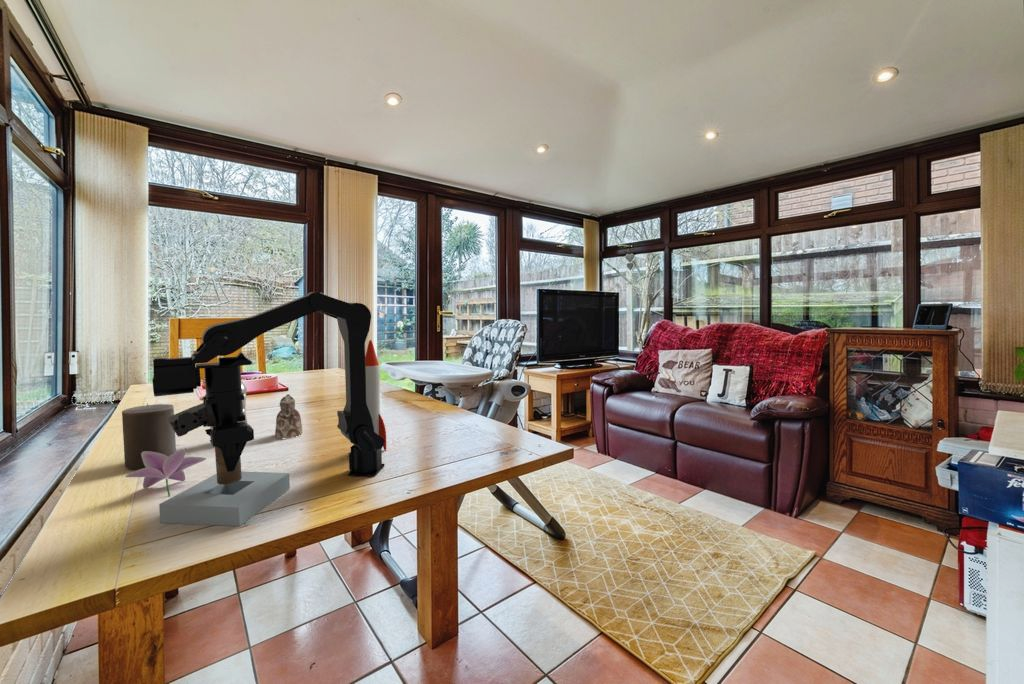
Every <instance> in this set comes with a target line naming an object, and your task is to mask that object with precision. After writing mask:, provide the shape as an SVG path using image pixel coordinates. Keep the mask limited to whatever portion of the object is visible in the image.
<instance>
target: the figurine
mask: <svg viewBox="0 0 1024 684" xmlns="http://www.w3.org/2000/svg"><path fill="white" fill-rule="evenodd" d="M295 407H296V400H295V398H294V397H292V395H290V394H286V395H285V396H283V397H282V398H281V399H280V401H279V408H280V410H279V412H278V413H277V415H276V418H275V431H274V434H275V438H277V437H278V438H277V439H280V438H290V439H292V438H291V437H294V438H297V437H296V436H298V437H300V436H302V435H303V424H302V418H301V414H300V412H299V410H297V409H296V408H295ZM301 434H302V435H301ZM299 435H300V436H299Z"/></svg>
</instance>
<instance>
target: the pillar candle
mask: <svg viewBox="0 0 1024 684" xmlns="http://www.w3.org/2000/svg"><path fill="white" fill-rule="evenodd" d="M172 415H175V407H174V405H173V404H169V403H168V404H167V403H166V404H164V403H163V404H162V403H161V404H148V402H146V405H138V406H133V407H130V408H126V409H123V410H121V418H122V419H121V422H122V434H123V435H122V436H123V439H122V440H123V451H124V452H123V454H124V455H123V457H124V467H125V468H126V469H127V468H128V469H127V470H132V469H134V471H136V470H140V469H143V468H146V467H145V465H144V463H143V460H142V456H141V453H142V452H144V451H151V452H157V453H161V454H164V455H166V456H168V457H169V456H170V455H172V454H174V453H175V452H177V445H176V441H177V440H176V433H175V431H174V430H173V428H172V426H171V425H170V423H169V420H168V418H169V417H171V416H172Z"/></svg>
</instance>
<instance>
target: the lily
mask: <svg viewBox="0 0 1024 684" xmlns="http://www.w3.org/2000/svg"><path fill="white" fill-rule="evenodd" d="M186 453H187V449H186V448H182V449H179V450H178V451H177V450H176V452H175V453H174V454H172V455H170V456H169V457H168V456H166V455H164V454H161V453H157V452H151V451H144V452H142V453H141V456H142V460H143V463H144V465H145V467H146V468H143V469H136V470H134V471H133V472H130V473H128V474H126V475H125V476H124V477H125V478H143V483H142V487H143V489H148V488H149V487H152V486H154V485H155V484H157V483H159V482H162V481H163V480H165V484H166V489H167V490H166V491H167V497H170V496H171V492H170V488H169V480H174V481H178V482H179V481H180V482H185V481H186V475H185V472H184V470H185V469H188V468H190V467H192V466H194V465H197V464H199V463H203V462H204V461H206V459H207V458H206V457H200V456H186ZM185 456H186V457H185ZM184 480H185V481H184Z"/></svg>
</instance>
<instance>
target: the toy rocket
mask: <svg viewBox="0 0 1024 684" xmlns="http://www.w3.org/2000/svg"><path fill="white" fill-rule="evenodd" d="M377 357H378V356H377V353H376V351H375V346H374V343H373V341H372V340H371V339H370V340H369V341H368V345H367V348H366V351H365V367H366V402H367V406H368V409H369V411H370V414H371V417H372V421H373V426H374V432H375V433H377V434H378V435H379V436H381V437H382V438H383V439H384V440H385V441H384V444H383V447H382V448H383V451H385V450H386V451H387V429H386V425H385V422H384V419H383V417H382V415H381V407H380V406H381V405H380V404H381V403H380V402H381V400H380V399H381V384H380V383H381V382H380V381H381V380H380V379H381V375H380V374H381V369H380V368H381V367H380V363H379V360H378V358H377Z"/></svg>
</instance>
